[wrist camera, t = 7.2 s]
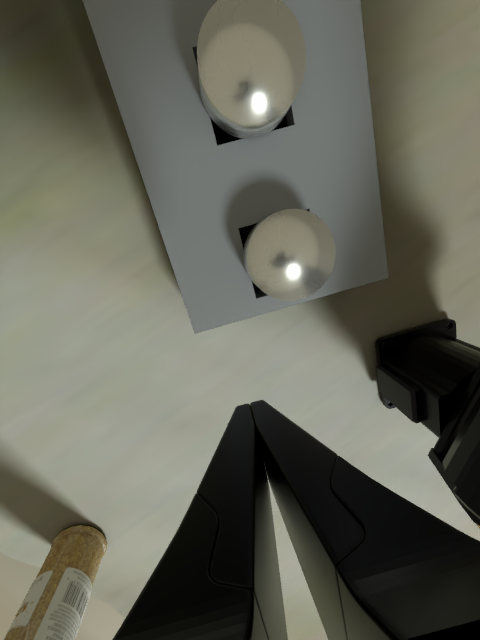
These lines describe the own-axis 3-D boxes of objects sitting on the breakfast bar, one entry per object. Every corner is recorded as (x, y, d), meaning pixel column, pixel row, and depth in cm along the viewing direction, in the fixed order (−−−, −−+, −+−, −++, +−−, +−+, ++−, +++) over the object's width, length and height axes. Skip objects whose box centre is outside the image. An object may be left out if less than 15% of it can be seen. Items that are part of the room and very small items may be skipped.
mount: (295, -155, 14) (328, -309, 10) (354, 271, 20) (388, 277, 16) (62, -99, 13) (2, -236, 9) (197, 316, 20) (194, 333, 16)
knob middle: (268, 57, 15) (294, -26, 10) (285, 146, 16) (314, 108, 12) (190, 78, 15) (181, 3, 10) (213, 166, 16) (215, 134, 11)
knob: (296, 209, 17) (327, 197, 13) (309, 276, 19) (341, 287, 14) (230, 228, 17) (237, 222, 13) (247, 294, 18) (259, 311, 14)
